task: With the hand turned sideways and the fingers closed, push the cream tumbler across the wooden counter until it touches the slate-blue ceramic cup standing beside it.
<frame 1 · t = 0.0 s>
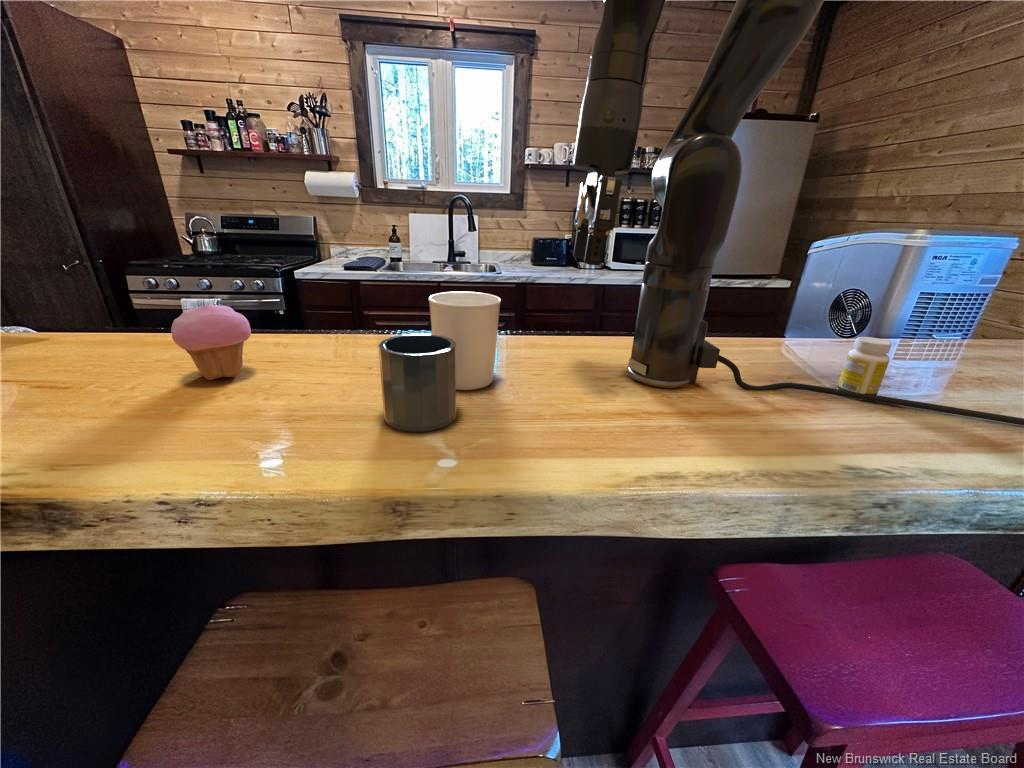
hand: (585, 261, 61), 17 cm above the worktop, tool pointing down, fingers open, 8 cm apart
cup: (420, 415, 52), on the worktop
supplement bottle: (854, 396, 65), on the worktop
cream tumbler: (464, 380, 64), on the worktop
cupcake: (222, 377, 61), on the worktop
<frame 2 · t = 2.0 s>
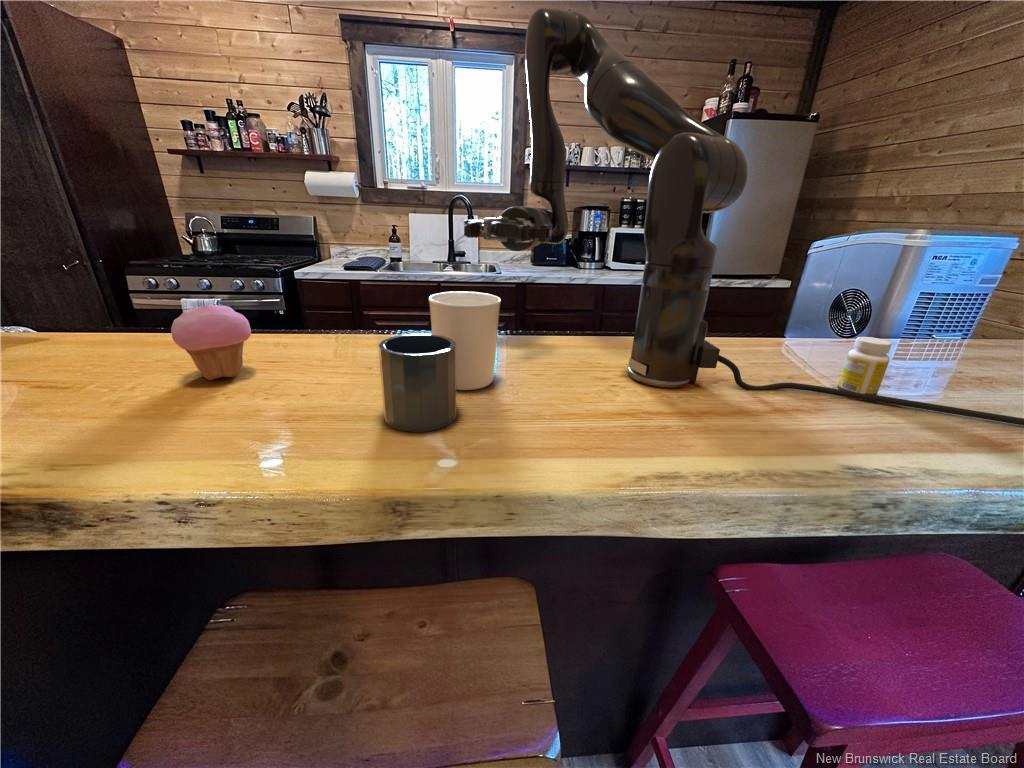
hand: (493, 232, 66), 20 cm above the worktop, tool horizontal, fingers open, 8 cm apart
nothing on the worktop moved.
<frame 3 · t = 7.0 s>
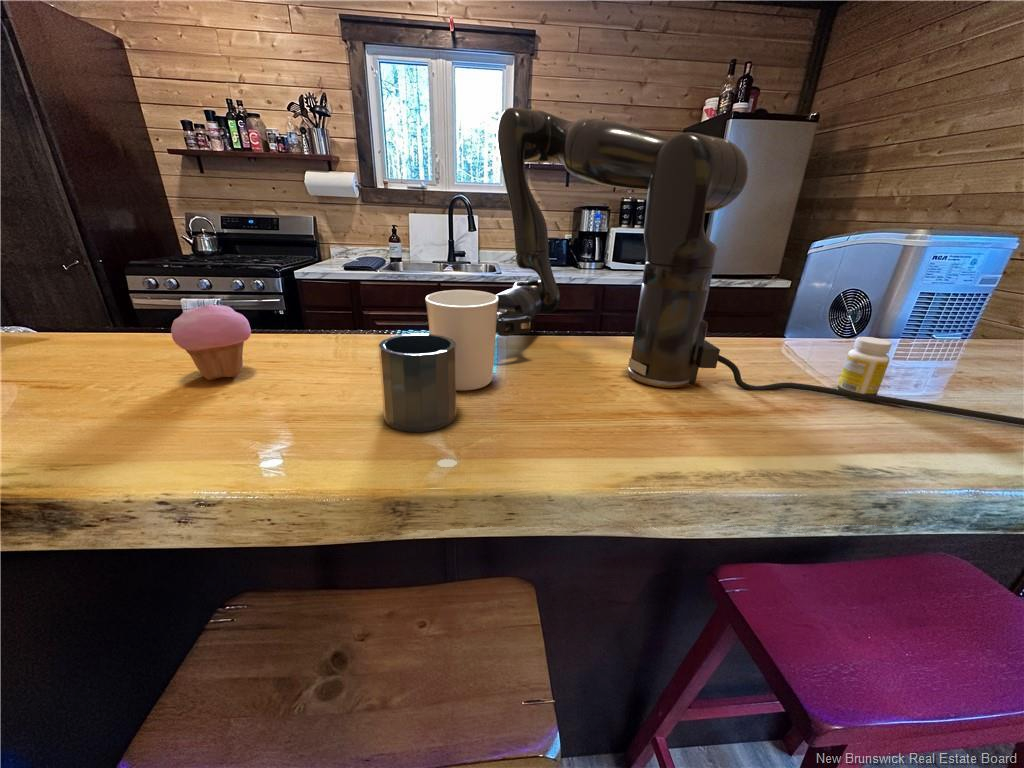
hand: (474, 332, 65), 6 cm above the worktop, tool horizontal, fingers closed
cream tumbler: (463, 380, 64), on the worktop, touching gripper
everything else where it was.
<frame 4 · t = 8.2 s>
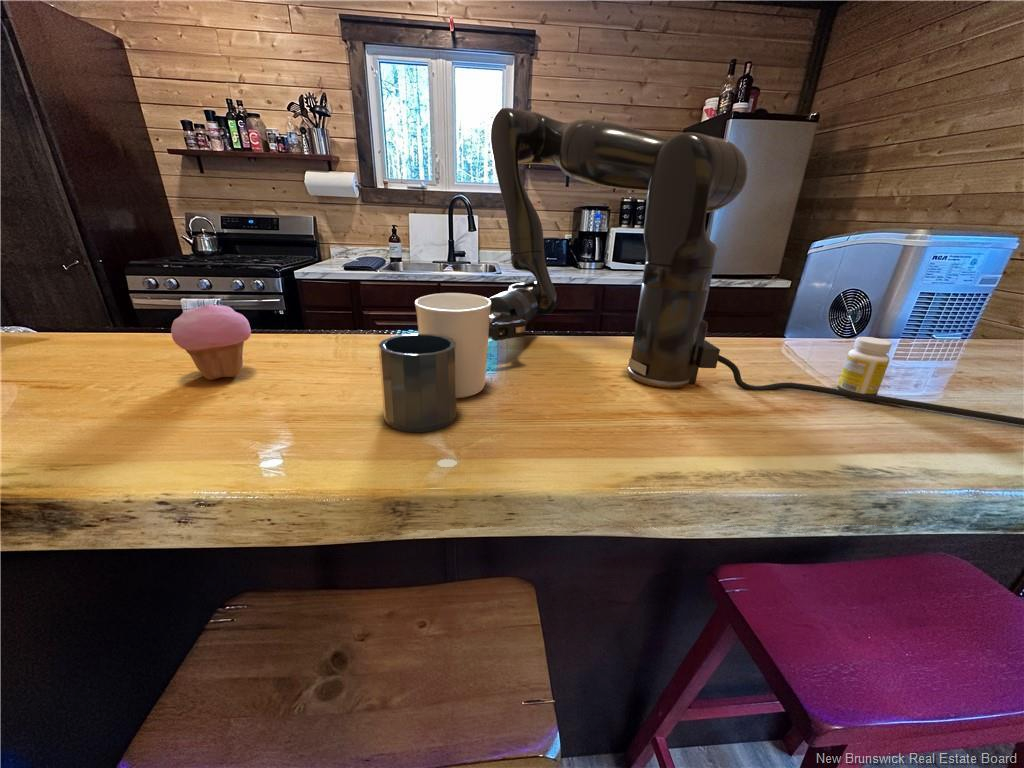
hand: (466, 337, 62), 6 cm above the worktop, tool horizontal, fingers closed
cream tumbler: (455, 386, 61), on the worktop, touching gripper
everything else where it was.
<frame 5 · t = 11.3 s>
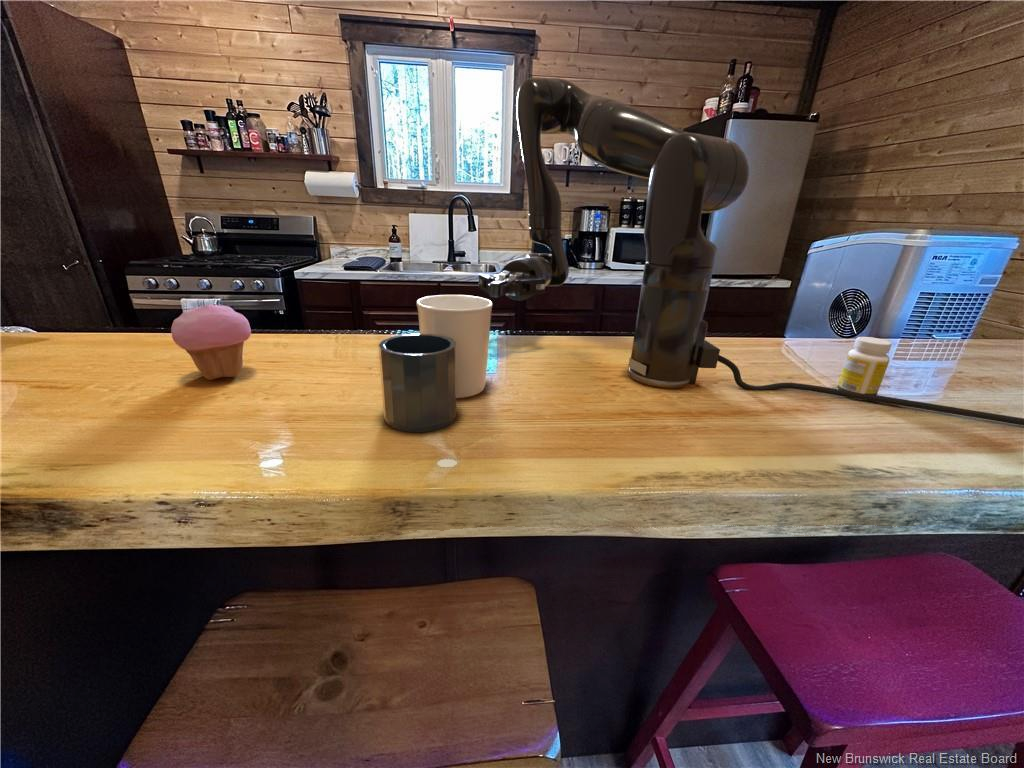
hand: (494, 290, 69), 11 cm above the worktop, tool horizontal, fingers closed
cream tumbler: (455, 387, 61), on the worktop
everything else where it was.
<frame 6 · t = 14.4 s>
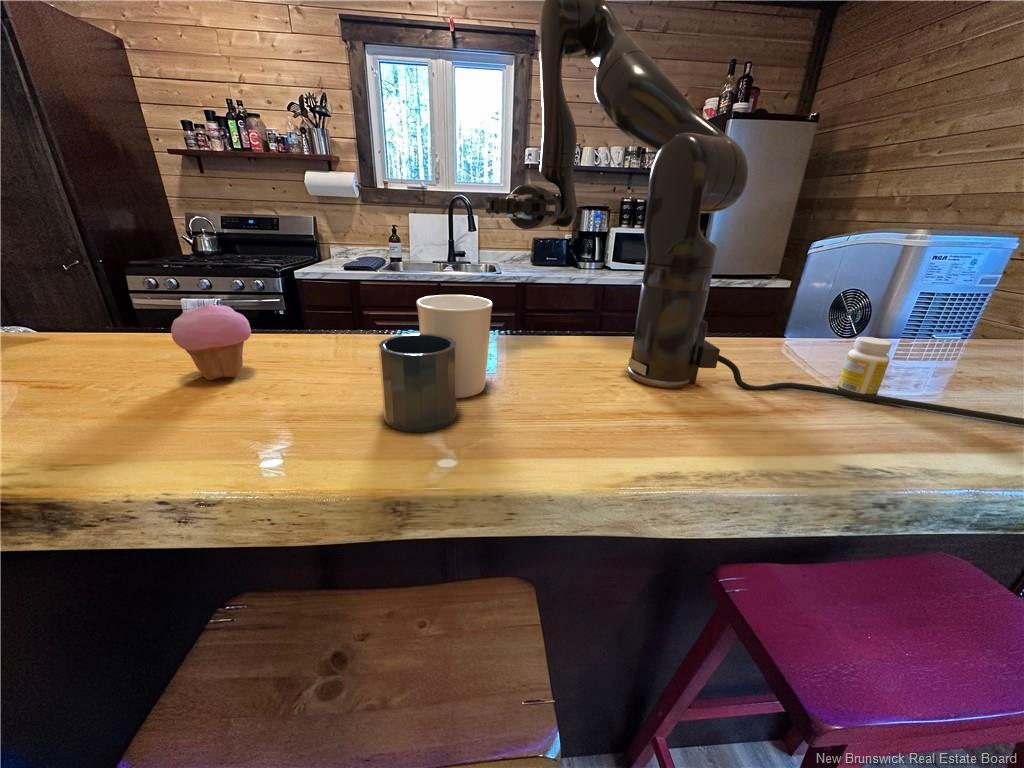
hand: (502, 205, 66), 24 cm above the worktop, tool horizontal, fingers closed
nothing on the worktop moved.
at the end: cream tumbler 10.0 cm from the cup (horizontally); cream tumbler moved 3.0 cm from its start; cream tumbler tilted 0° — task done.
